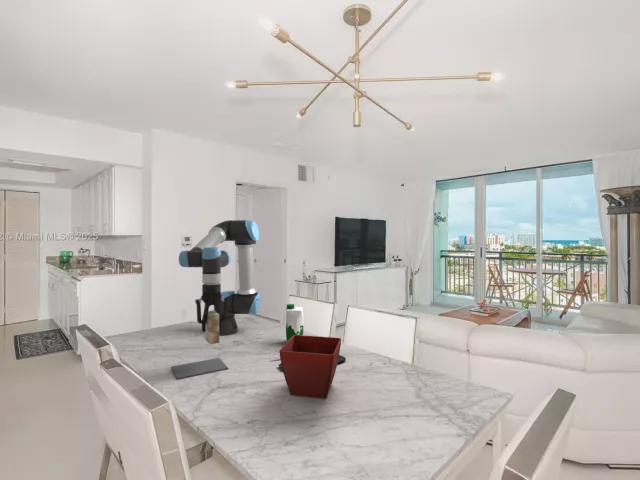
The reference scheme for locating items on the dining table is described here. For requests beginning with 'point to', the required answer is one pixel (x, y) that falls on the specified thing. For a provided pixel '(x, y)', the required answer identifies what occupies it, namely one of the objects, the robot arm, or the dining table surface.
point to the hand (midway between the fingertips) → (211, 338)
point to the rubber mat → (198, 368)
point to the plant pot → (310, 364)
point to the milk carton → (294, 321)
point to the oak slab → (213, 327)
